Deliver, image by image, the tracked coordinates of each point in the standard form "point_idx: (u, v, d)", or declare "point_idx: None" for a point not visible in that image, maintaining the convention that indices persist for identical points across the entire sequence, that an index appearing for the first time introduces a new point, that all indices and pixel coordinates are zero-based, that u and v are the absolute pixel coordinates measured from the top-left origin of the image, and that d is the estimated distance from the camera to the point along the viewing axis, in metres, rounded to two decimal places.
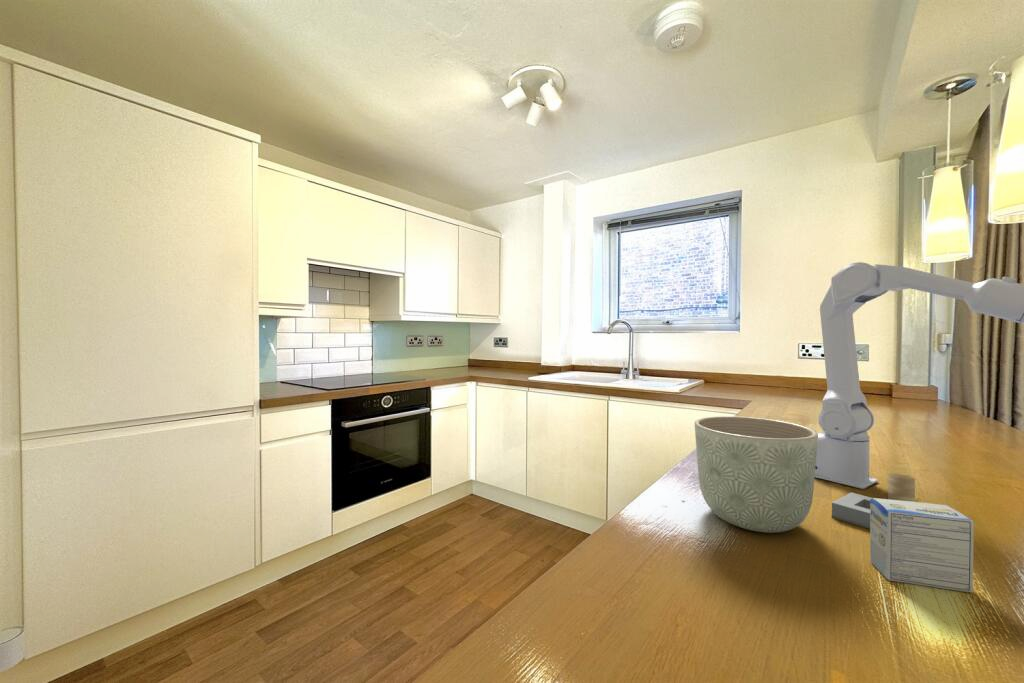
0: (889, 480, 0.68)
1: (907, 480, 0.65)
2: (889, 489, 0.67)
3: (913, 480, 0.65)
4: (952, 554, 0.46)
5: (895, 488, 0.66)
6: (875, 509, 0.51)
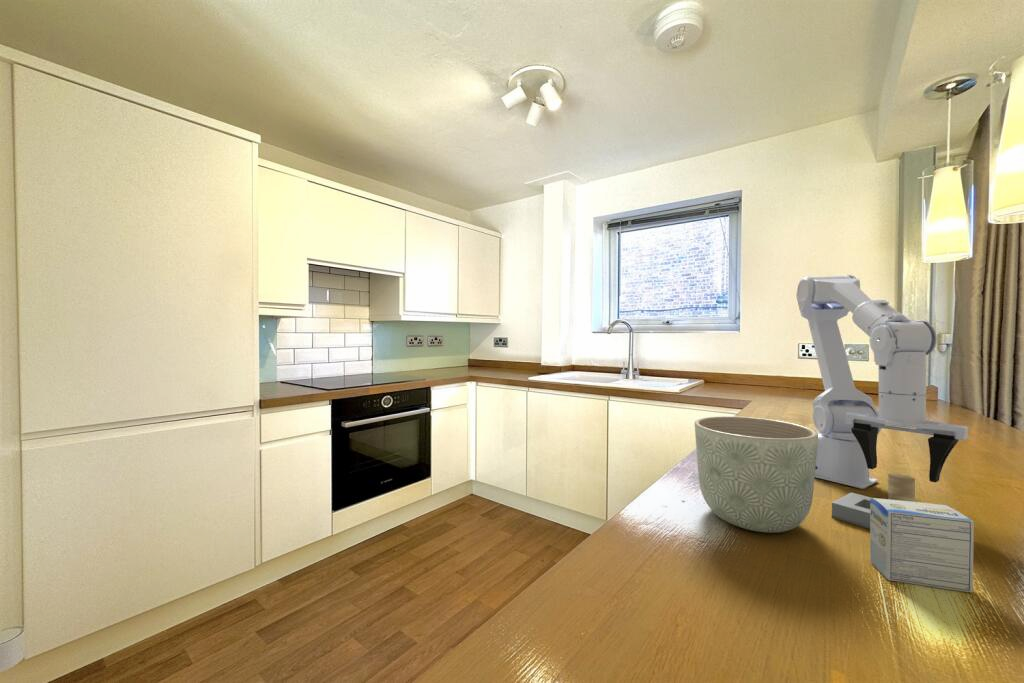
0: (889, 480, 0.68)
1: (907, 480, 0.65)
2: (889, 489, 0.67)
3: (913, 480, 0.65)
4: (952, 554, 0.46)
5: (895, 488, 0.66)
6: (875, 509, 0.51)
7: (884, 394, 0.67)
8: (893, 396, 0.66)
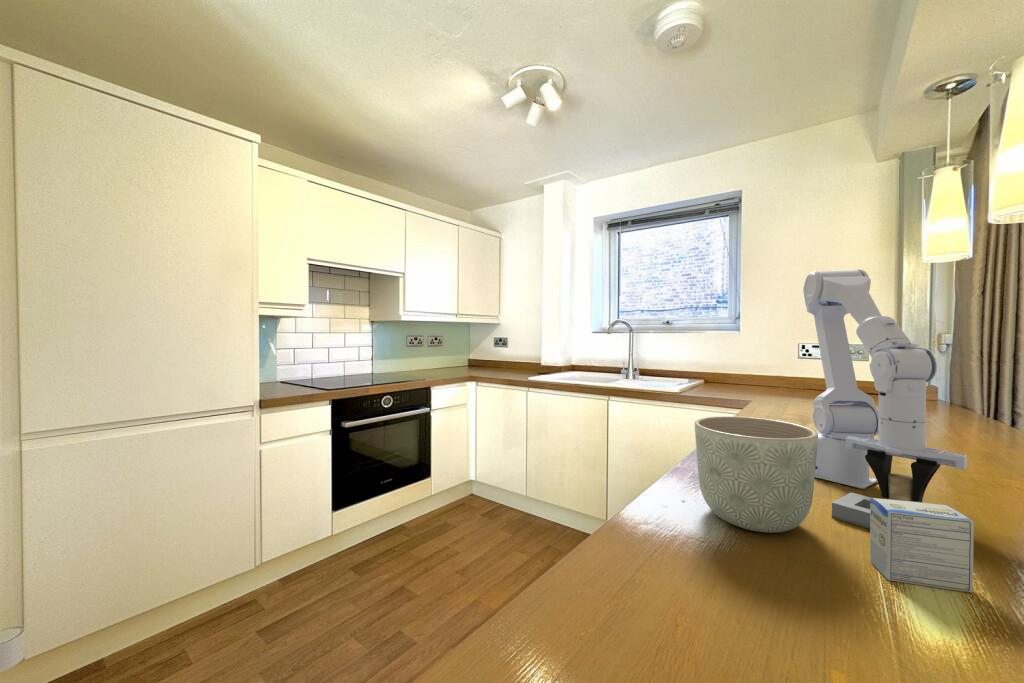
0: (889, 480, 0.68)
1: (907, 480, 0.65)
2: (889, 489, 0.67)
3: None
4: (952, 554, 0.46)
5: (895, 488, 0.66)
6: (875, 509, 0.51)
7: (884, 420, 0.67)
8: (893, 423, 0.66)
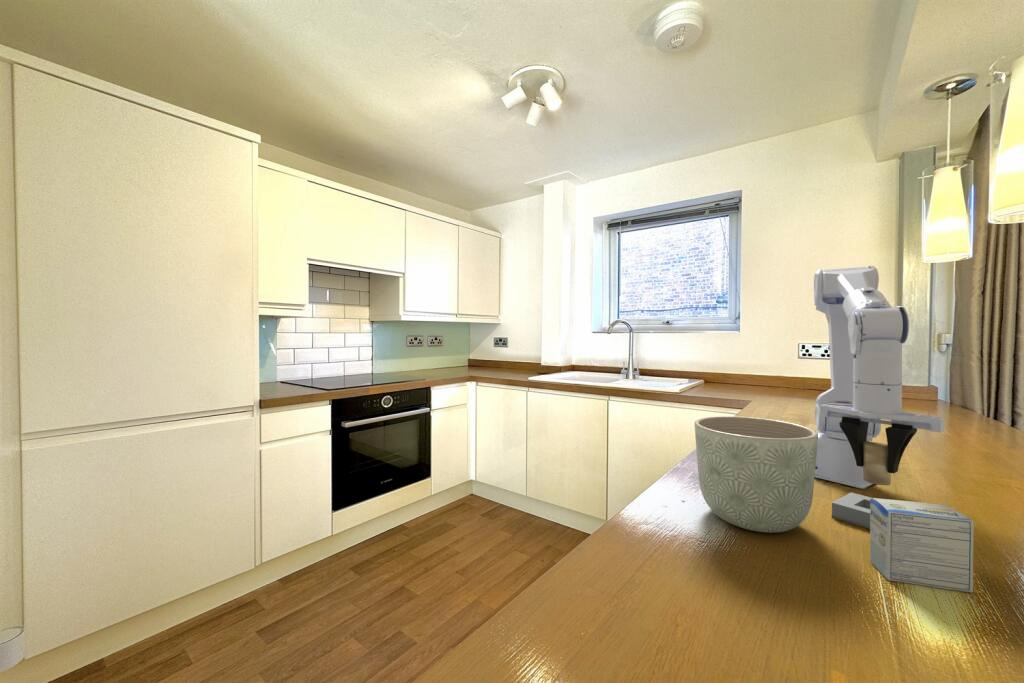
0: (863, 447, 0.64)
1: (882, 447, 0.62)
2: (864, 457, 0.64)
3: None
4: (952, 554, 0.46)
5: (869, 456, 0.63)
6: (875, 509, 0.51)
7: (858, 384, 0.63)
8: (867, 386, 0.62)
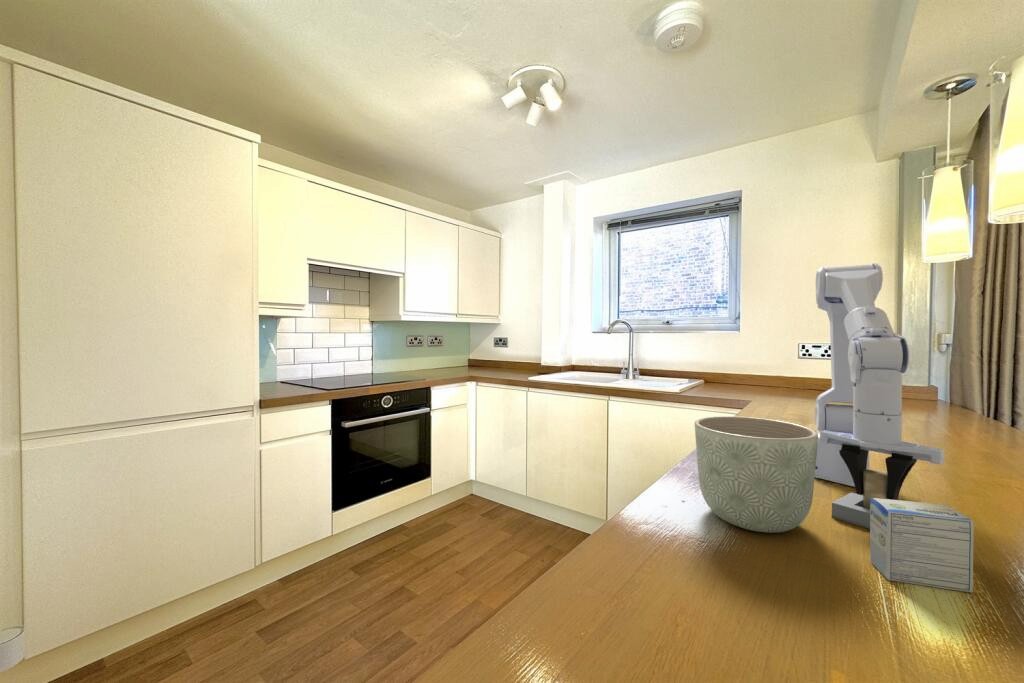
0: (863, 476, 0.64)
1: (882, 476, 0.62)
2: (864, 486, 0.64)
3: None
4: (952, 554, 0.46)
5: (869, 485, 0.63)
6: (875, 509, 0.51)
7: (858, 413, 0.63)
8: (867, 416, 0.62)
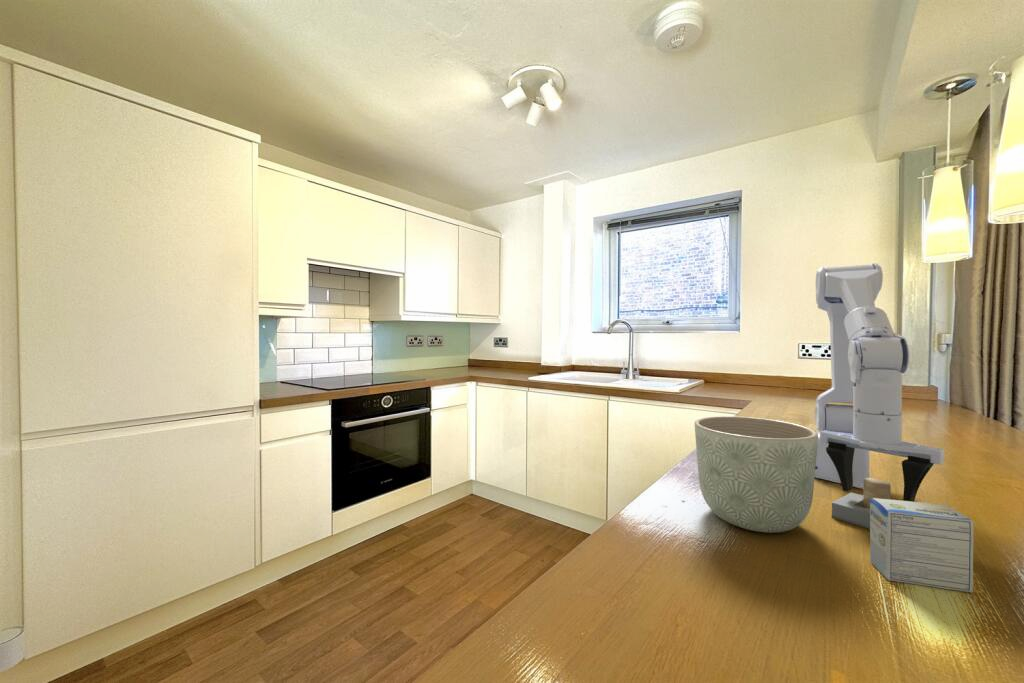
0: (863, 484, 0.64)
1: (882, 485, 0.62)
2: (864, 494, 0.64)
3: (889, 485, 0.62)
4: (952, 554, 0.46)
5: (869, 494, 0.63)
6: (875, 509, 0.51)
7: (858, 413, 0.63)
8: (867, 416, 0.62)
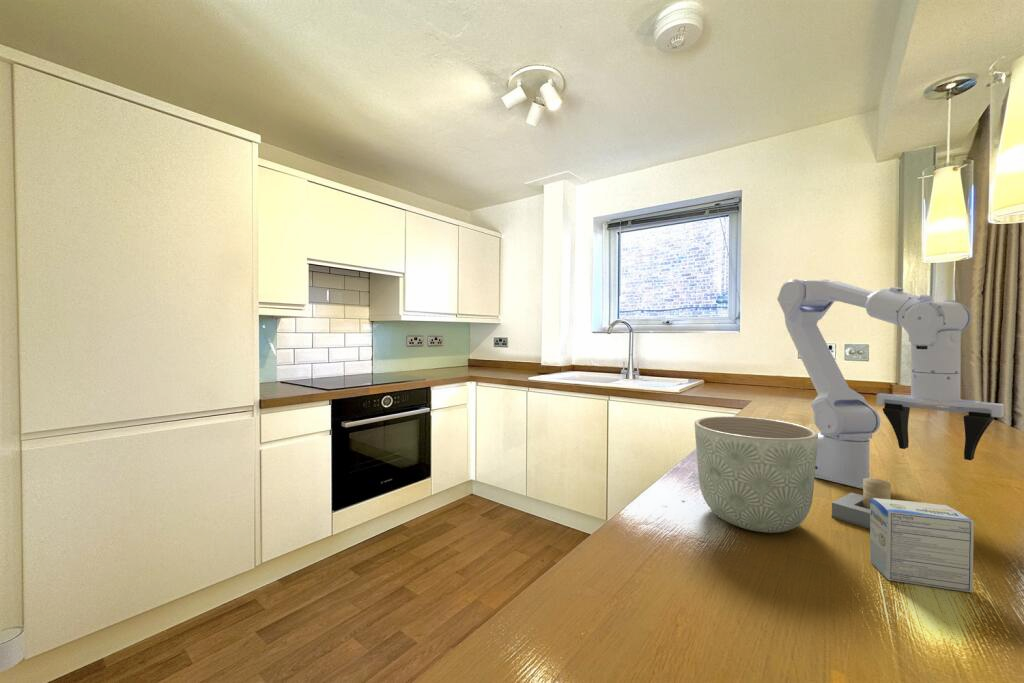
0: (863, 484, 0.64)
1: (882, 485, 0.62)
2: (864, 494, 0.64)
3: (889, 485, 0.62)
4: (952, 554, 0.46)
5: (869, 494, 0.63)
6: (875, 509, 0.51)
7: (917, 373, 0.67)
8: (927, 375, 0.66)
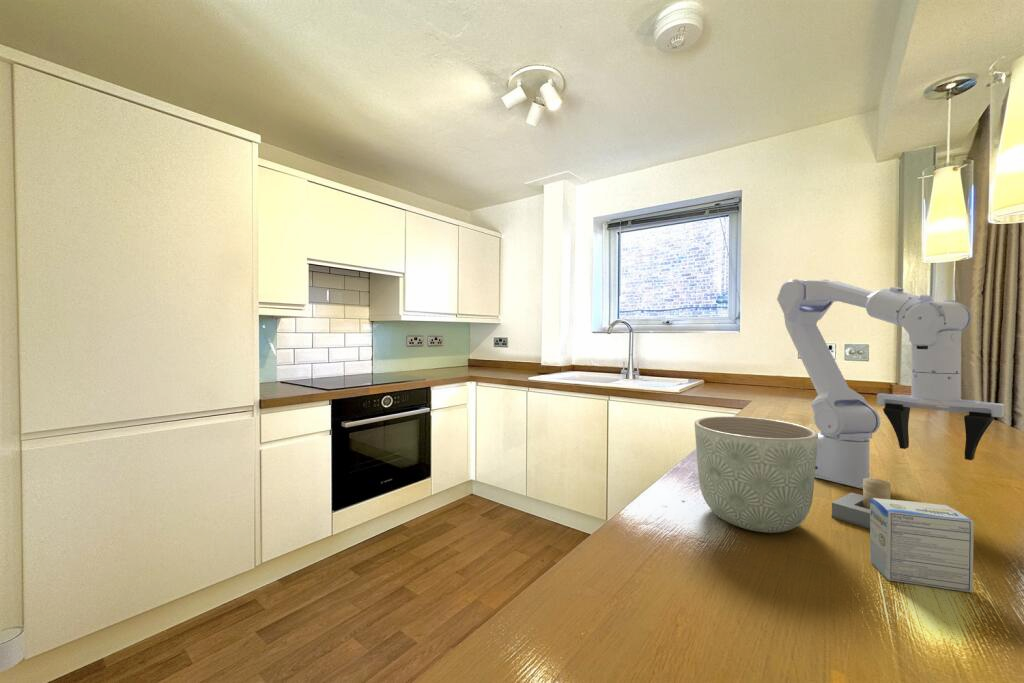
0: (863, 485, 0.64)
1: (882, 485, 0.62)
2: (864, 494, 0.64)
3: (888, 485, 0.62)
4: (952, 554, 0.46)
5: (869, 494, 0.63)
6: (875, 509, 0.51)
7: (918, 373, 0.67)
8: (928, 375, 0.66)
